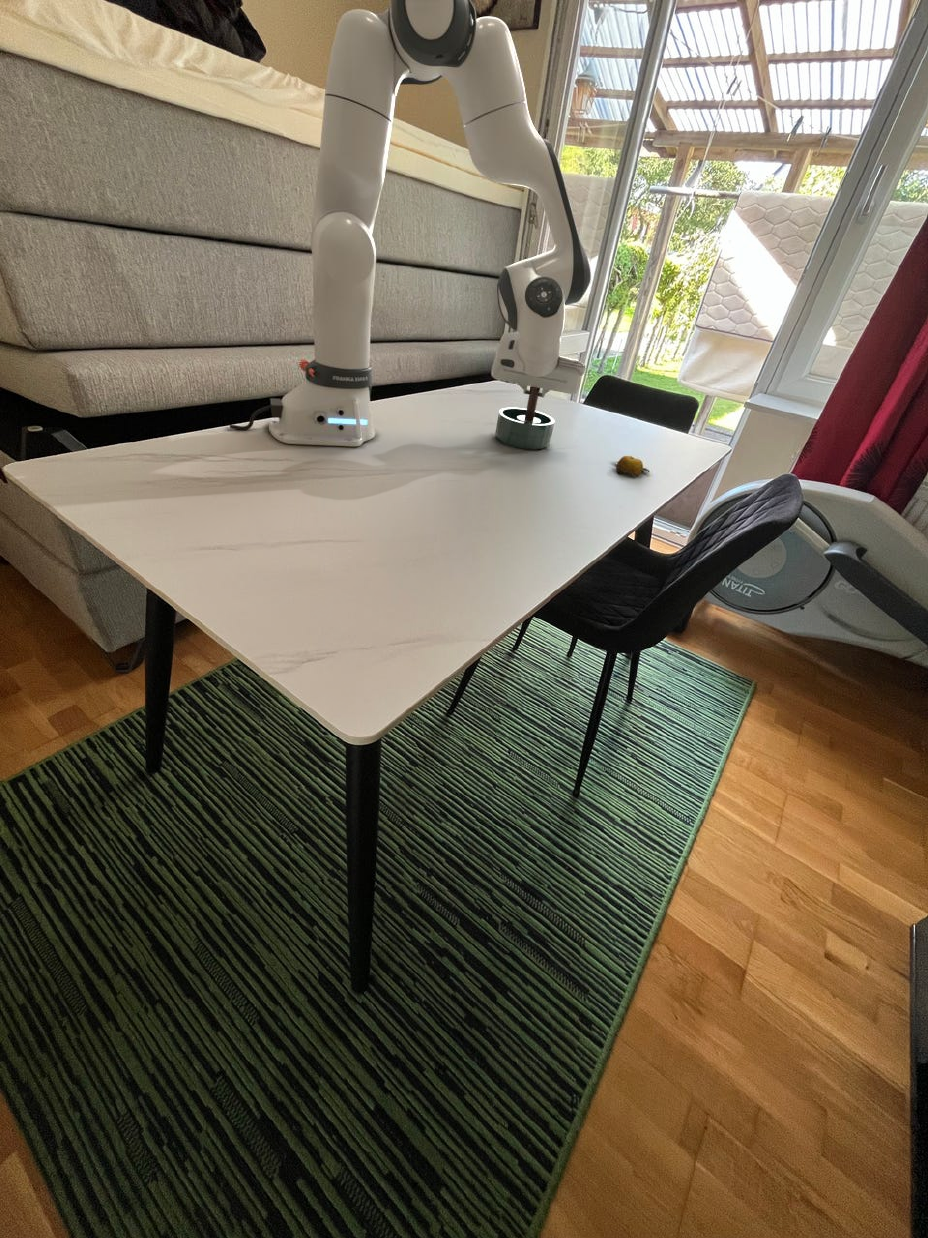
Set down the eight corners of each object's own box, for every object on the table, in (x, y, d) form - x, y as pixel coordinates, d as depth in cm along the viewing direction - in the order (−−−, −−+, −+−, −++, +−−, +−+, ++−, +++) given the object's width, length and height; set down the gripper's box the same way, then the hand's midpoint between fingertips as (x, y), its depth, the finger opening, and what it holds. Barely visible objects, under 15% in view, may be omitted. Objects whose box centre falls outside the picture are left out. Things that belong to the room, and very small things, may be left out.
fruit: (649, 472, 122) (655, 457, 120) (642, 481, 116) (647, 465, 114) (616, 462, 125) (621, 447, 123) (607, 471, 119) (611, 455, 117)
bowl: (512, 451, 121) (518, 425, 117) (485, 432, 130) (489, 407, 127) (559, 449, 127) (565, 424, 123) (529, 431, 136) (534, 407, 133)
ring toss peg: (522, 435, 124) (537, 363, 115) (510, 427, 128) (522, 356, 119) (543, 435, 127) (558, 364, 117) (530, 427, 131) (544, 358, 121)
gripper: (590, 349, 108) (580, 389, 122) (496, 331, 111) (496, 373, 124) (583, 375, 107) (574, 413, 121) (488, 357, 110) (490, 396, 123)
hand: (534, 392), depth 123 cm, fingers closed on ring toss peg, 2 cm apart
